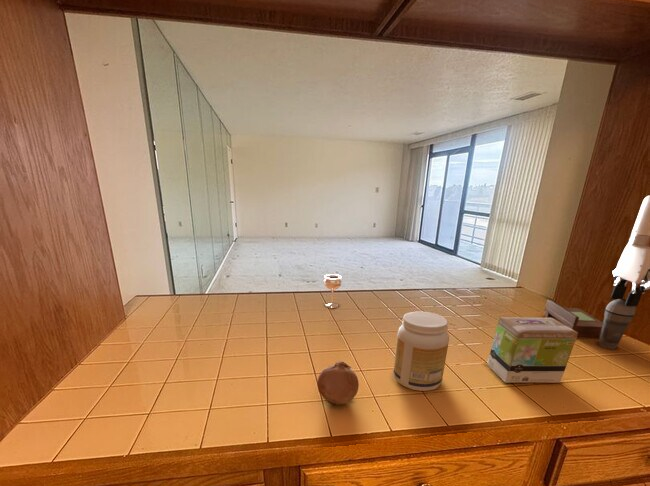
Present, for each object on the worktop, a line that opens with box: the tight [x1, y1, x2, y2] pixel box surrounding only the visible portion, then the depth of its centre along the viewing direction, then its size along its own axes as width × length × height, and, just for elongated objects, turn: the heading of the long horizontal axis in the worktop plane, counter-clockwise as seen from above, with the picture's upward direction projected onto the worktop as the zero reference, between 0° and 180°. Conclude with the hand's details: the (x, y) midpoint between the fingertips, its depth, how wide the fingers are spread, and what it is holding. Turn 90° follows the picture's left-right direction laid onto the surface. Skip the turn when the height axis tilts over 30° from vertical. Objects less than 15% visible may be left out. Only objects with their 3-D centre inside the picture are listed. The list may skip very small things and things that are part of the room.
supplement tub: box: [392, 311, 450, 392], centre depth 86 cm, size 12×12×17 cm
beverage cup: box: [597, 289, 636, 350], centre depth 106 cm, size 7×7×20 cm
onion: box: [316, 361, 360, 406], centre depth 78 cm, size 10×9×10 cm
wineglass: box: [323, 273, 342, 309], centre depth 136 cm, size 7×7×12 cm
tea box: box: [486, 316, 578, 384], centre depth 90 cm, size 15×10×15 cm
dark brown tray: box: [543, 298, 603, 339], centre depth 122 cm, size 12×18×7 cm, turn 175°
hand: (623, 301), depth 104 cm, fingers open, 5 cm apart
